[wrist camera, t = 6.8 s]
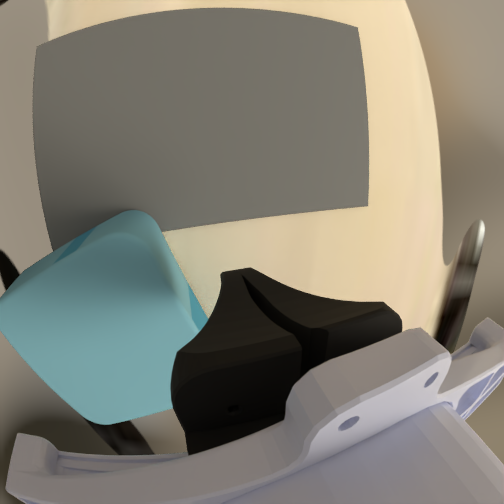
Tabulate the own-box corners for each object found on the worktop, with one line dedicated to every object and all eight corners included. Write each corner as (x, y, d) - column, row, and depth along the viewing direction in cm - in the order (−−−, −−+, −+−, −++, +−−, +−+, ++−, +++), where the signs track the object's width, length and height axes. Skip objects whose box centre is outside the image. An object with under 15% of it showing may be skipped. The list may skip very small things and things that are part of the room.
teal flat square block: (146, 199, 15) (13, 277, 14) (135, 220, 11) (-16, 311, 10) (223, 344, 20) (102, 387, 19) (236, 387, 16) (96, 428, 15)
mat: (365, 205, 19) (367, 206, 19) (54, 249, 14) (53, 251, 14) (355, 28, 14) (357, 27, 13) (38, 47, 9) (36, 46, 9)
